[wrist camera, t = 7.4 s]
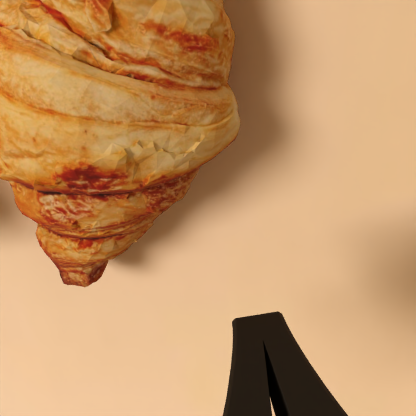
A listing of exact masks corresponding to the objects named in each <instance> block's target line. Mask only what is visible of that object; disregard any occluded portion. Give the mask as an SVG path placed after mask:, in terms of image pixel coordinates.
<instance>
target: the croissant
mask: <svg viewBox="0 0 416 416" xmlns="http://www.w3.org/2000/svg"><path fill="white" fill-rule="evenodd" d="M234 42H235V32H234V31H233V30H232V29H231V22H230V19H229V17H228V16H227V15H226V13H225V11H224V7H223V0H0V178H1V179H2V180H7V181H9V182H10V184H11V186H12V189H13V192H14V195H15V202H16V205H17V207H18V208H19V210H20V211H21V212H22V214H24V215H25V216H27V217H29V218H31V219H32V220H34V221H35V222H37V223H38V228H37V231H36V236H37V239H38V242H39V244H40V247H41V248H42V249H43V250H44V252H45V253H46V255H47V256H48V257H49V258H50V259H51V260H52V261H53V263H54V264H55V265H56V266H57V268H58V269H59V272H60V276H61V278H62V281H63V283H64V284H67V285H76V286H82V287H86V286H89V285H90V284H92V283H93V282H96V281H97V280H98V279H99V278H100V277H101V276H102V274H103V272H104V270H105V268H106V266H107V263H108V260H111V259H114V258H115V257H116V256H118V255H119V254H122V253H123V252H124V251H126V250H127V249H128V248H129V246H130V245H131V244H132V243H134V242H137V240H138V239H139V238H140V237H141V236H142V235H143V234H144V233H145V232H146V231H147V230H148V229H149V228H150V227H151V226H152V225H153V221H154V220H155V219H156V218H157V217H158V216H159V214H162V212H163V211H166V210H167V209H168V208H169V207H170V206H171V205H172V204H174V203H175V202H176V201H179V200H181V199H183V197H184V196H185V194H186V193H187V191H188V189H189V187H190V183H191V181H192V180H193V179H194V177H195V176H196V174H197V172H198V170H199V168H200V166H201V165H203V164H204V163H206V162H208V161H209V160H211V159H212V158H214V157H215V156H216V155H217V154H219V153H220V152H221V151H222V150H224V149H225V148H226V147H227V146H228V145H229V144H230V143H231V142H233V141H234V140H235V138H236V136H237V135H238V131H239V128H240V118H239V115H238V112H237V111H238V104H237V101H236V98H235V96H234V93H233V92H232V90H231V88H230V86H229V85H228V83H227V81H228V77H229V72H230V69H231V60H232V54H233V48H234Z"/></svg>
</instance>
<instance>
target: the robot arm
mask: <svg viewBox="0 0 416 416" xmlns="http://www.w3.org/2000/svg"><path fill="white" fill-rule="evenodd" d="M232 326H233V350H232V361H231V370H230V377H229V384H228V391H227V397H226V403H225V408H224V413H223V416H272V411H271V403H270V398H271V402H272V405H273V409H274V412H275V415H276V416H348V415H347V414H346V412H345V411H344V410H343V409H342V407H341V406H340V405H339V403H338V402H337V401H336V399H335V398H334V397H333V395H332V394H331V393H330V391H329V390H328V389H327V387H326V386H325V384H324V383H323V382H322V380H321V379H320V377H319V376H318V374H317V373H316V371H315V370H314V369H313V367H312V366H311V364H310V363H309V361H308V360H307V358H306V357H305V355H304V353H303V352H302V350H301V348H300V347H299V345H298V344H297V342H296V340H295V338H294V337H293V335H292V333H291V331H290V329H289V328H288V326H287V324H286V322H285V319H284V317H283V315H282V314H281V313H280V312H272V313H266V314H260V315H253V316H247V317H241V318H235V319H234V320H233V321H232Z"/></svg>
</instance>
